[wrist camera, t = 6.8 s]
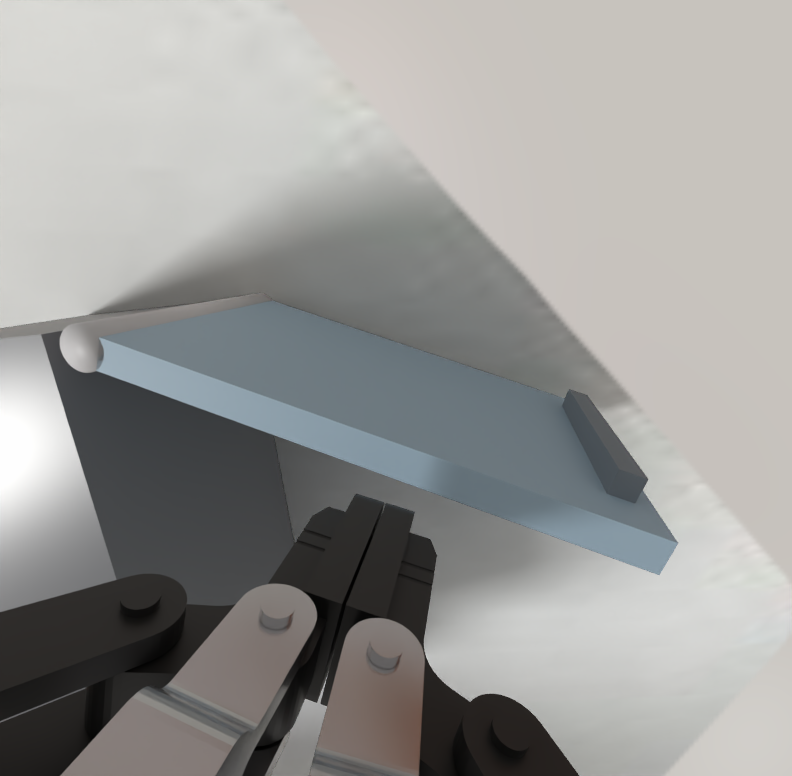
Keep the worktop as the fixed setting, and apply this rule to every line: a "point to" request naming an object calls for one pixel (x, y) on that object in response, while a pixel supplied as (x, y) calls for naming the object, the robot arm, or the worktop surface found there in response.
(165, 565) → the camera housing
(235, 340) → the side door
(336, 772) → the robot arm
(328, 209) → the worktop surface
